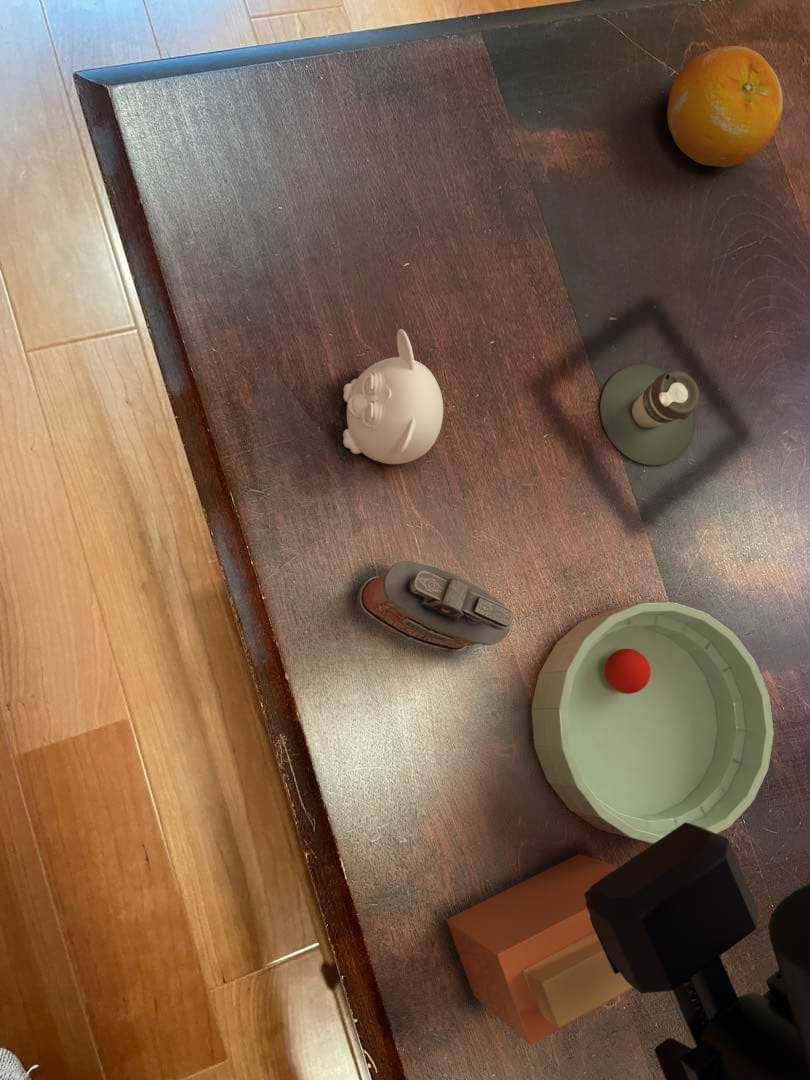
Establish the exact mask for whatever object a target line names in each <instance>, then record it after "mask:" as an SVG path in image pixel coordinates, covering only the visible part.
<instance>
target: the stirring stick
mask: <svg viewBox="0 0 810 1080" xmlns="http://www.w3.org/2000/svg"><path fill="white" fill-rule="evenodd" d="M523 974H524V976H525V979H526V982H527V984H528V987H529V990H530V993H531V995H532V998H533V1001H534V1003H535V1006H536V1009H537V1011H538V1013H539V1014H540V1015H541V1016H543V1017H544V1018H545V1019H547V1020H548V1021H549V1022H550V1023H552V1024H553V1025H554V1026H556V1027H557V1028H560V1027H562V1026H564V1025H566V1024H567V1023H569V1022H571V1021H573V1020H575V1019H576V1018H578V1017H580V1016H582V1015H583V1014H585V1013H587V1012H589V1011H591V1010H592V1009H594V1008H596V1007H598V1006H600V1005H601V1004H603V1003H605V1002H607V1001H609V1000H610V999H612V998H614V997H616V996H618V995H619V994H621V993H623V992H625V991H627V990H628V989H630V988H632V986H631V985H630V984H629V983H627V981H626V980H625V979H624V977H623V976H622V975H621V973H620V972H619V973H618V974H615V973H614V972H613V970H612V968H611V966H610V963H609V961H608V959H607V957H606V954H605V952H604V950H603V948H602V946H601V943H600V941H599V939H598V937H597V935H596V932H595V933H593V934H591V935H589V936H587V937H585V938H583V939H581V940H579V941H577V942H576V943H574V944H572V945H570V946H568V947H566V948H564V949H562V950H560V951H559V952H557V953H555V954H553V955H551V956H549V957H547V958H545V959H543V960H541V961H540V962H538V963H536V964H534V965H532V966H530V967H528V968H526V969H524V970H523ZM627 992H628V991H627ZM625 993H626V992H625ZM618 997H619V996H618ZM616 998H617V997H616ZM609 1002H610V1001H609ZM607 1003H608V1002H607ZM600 1007H601V1006H600ZM598 1008H599V1007H598ZM591 1012H592V1011H591ZM582 1017H583V1016H582ZM575 1021H576V1020H575ZM573 1022H574V1021H573ZM566 1026H567V1025H566ZM564 1027H565V1026H564Z"/></svg>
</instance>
